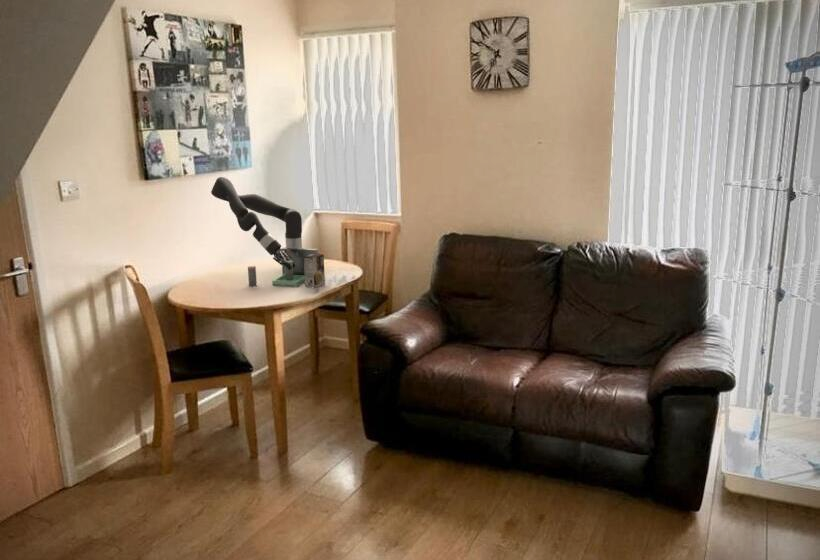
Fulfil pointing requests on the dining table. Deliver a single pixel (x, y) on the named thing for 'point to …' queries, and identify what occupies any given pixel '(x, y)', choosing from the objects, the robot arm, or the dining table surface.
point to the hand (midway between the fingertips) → (292, 267)
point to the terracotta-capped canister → (252, 275)
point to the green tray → (282, 281)
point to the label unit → (298, 259)
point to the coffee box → (314, 270)
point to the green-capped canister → (289, 271)
